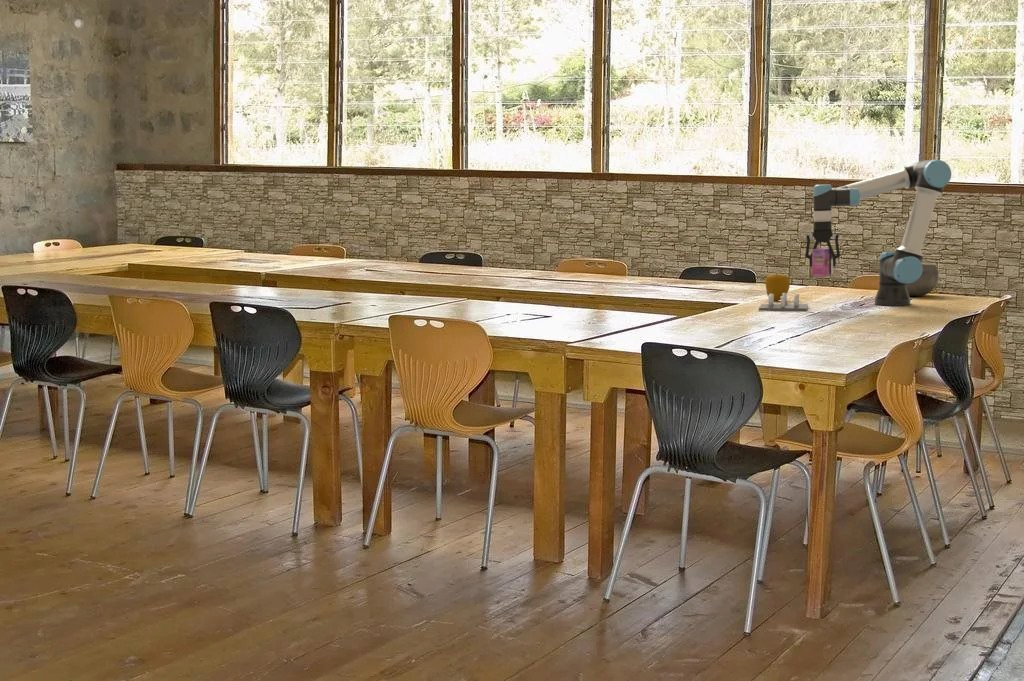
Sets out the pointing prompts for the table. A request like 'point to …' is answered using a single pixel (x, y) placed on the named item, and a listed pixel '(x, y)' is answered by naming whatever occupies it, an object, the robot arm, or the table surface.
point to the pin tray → (787, 307)
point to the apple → (777, 285)
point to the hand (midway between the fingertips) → (822, 274)
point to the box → (821, 262)
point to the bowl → (924, 281)
